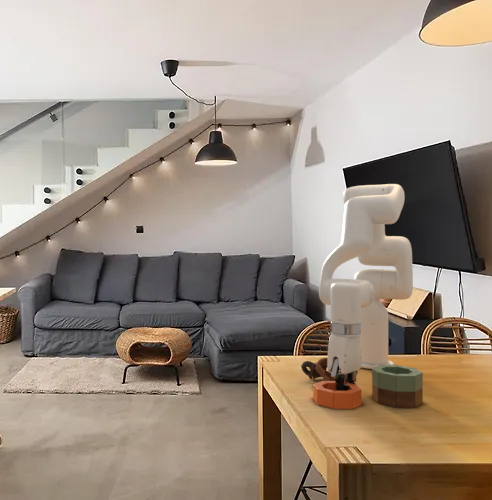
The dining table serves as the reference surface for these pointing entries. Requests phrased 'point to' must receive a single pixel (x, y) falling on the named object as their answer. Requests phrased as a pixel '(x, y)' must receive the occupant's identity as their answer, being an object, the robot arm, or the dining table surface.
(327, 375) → the brown knot
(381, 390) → the ring bottom
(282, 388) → the dining table surface
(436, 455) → the dining table surface
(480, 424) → the dining table surface
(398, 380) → the ring middle
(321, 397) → the ring top
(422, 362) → the dining table surface
